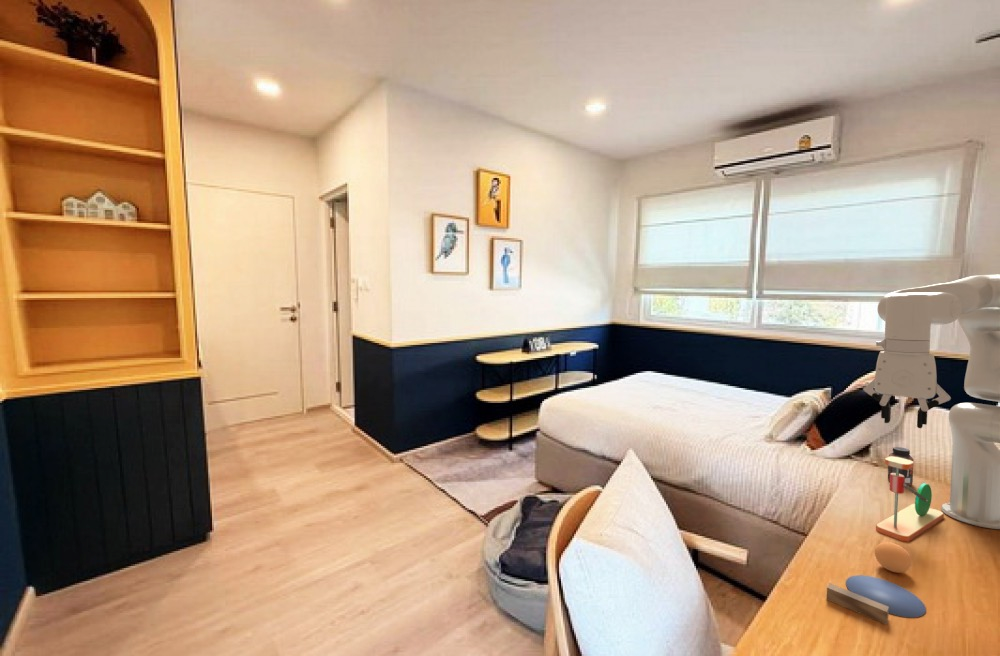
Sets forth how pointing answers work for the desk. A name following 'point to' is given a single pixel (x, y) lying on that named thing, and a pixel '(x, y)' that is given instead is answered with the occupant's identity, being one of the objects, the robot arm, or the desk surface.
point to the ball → (893, 557)
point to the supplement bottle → (907, 473)
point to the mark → (887, 595)
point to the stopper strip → (858, 603)
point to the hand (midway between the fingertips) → (903, 423)
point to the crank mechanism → (913, 516)
